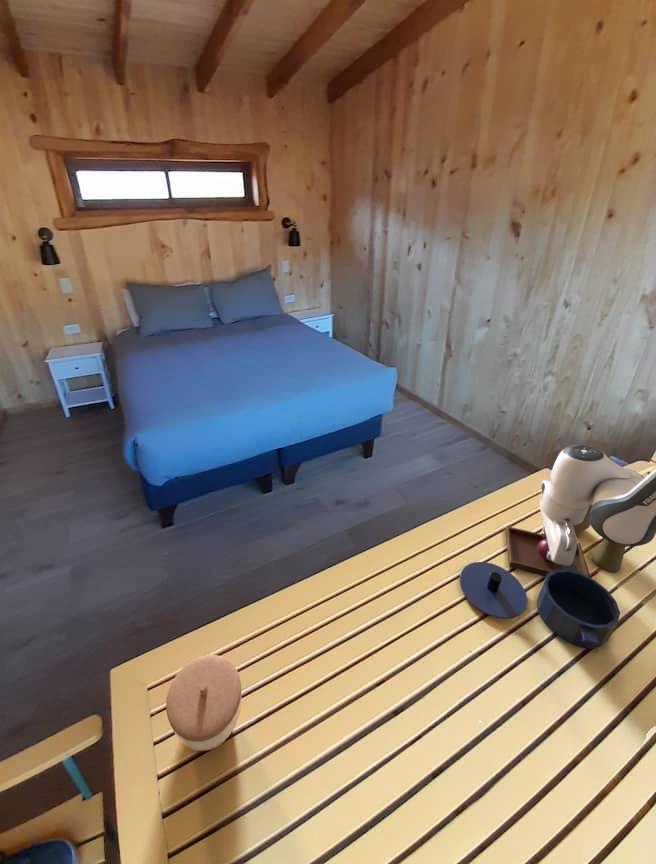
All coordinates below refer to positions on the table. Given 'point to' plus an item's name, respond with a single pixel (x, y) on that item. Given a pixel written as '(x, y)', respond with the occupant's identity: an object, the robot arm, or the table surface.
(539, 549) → the beet
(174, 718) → the lidded bowl
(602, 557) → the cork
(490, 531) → the table surface
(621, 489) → the robot arm
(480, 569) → the lid
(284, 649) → the table surface
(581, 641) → the pot
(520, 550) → the tray
